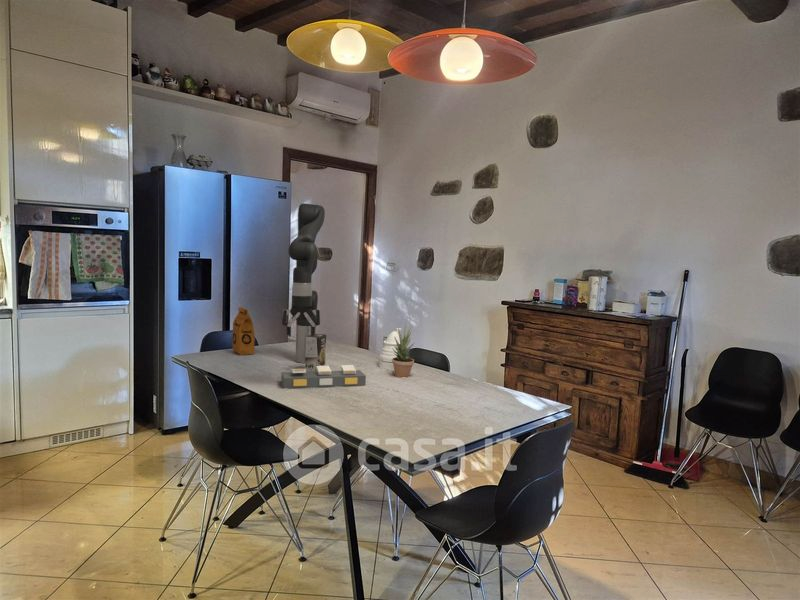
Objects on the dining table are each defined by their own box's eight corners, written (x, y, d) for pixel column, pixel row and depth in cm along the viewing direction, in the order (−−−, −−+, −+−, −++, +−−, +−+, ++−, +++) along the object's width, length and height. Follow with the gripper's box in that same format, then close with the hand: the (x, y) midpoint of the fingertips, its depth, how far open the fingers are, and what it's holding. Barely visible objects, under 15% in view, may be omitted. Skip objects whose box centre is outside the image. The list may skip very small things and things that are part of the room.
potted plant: (415, 378, 240) (418, 321, 237) (394, 378, 237) (396, 320, 235) (409, 372, 249) (412, 317, 247) (388, 373, 247) (391, 317, 244)
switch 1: (290, 372, 222) (290, 368, 222) (303, 371, 224) (303, 368, 224) (293, 373, 216) (293, 369, 216) (306, 372, 218) (306, 369, 218)
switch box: (281, 382, 224) (281, 372, 223) (359, 379, 233) (359, 370, 233) (284, 389, 214) (284, 378, 213) (365, 386, 223) (366, 376, 223)
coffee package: (236, 356, 268) (236, 310, 266) (230, 351, 279) (231, 306, 276) (256, 354, 273) (257, 309, 270) (250, 349, 283) (251, 306, 281)
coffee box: (318, 375, 238) (319, 337, 236) (304, 373, 239) (305, 336, 237) (325, 370, 246) (326, 334, 245) (311, 369, 248) (312, 333, 246)
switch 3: (340, 368, 228) (340, 364, 228) (352, 367, 230) (353, 364, 230) (343, 374, 223) (344, 371, 222) (356, 373, 224) (356, 370, 224)
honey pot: (402, 363, 268) (404, 326, 266) (410, 370, 255) (412, 330, 254) (376, 364, 264) (377, 326, 262) (382, 370, 252) (384, 330, 250)
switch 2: (316, 368, 225) (316, 365, 225) (328, 368, 227) (328, 365, 226) (318, 375, 220) (318, 371, 219) (331, 374, 221) (331, 371, 221)
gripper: (318, 293, 221) (317, 334, 222) (281, 293, 216) (280, 334, 218) (322, 295, 214) (320, 337, 215) (284, 294, 209) (282, 338, 211)
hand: (300, 336), depth 216 cm, fingers open, 8 cm apart
